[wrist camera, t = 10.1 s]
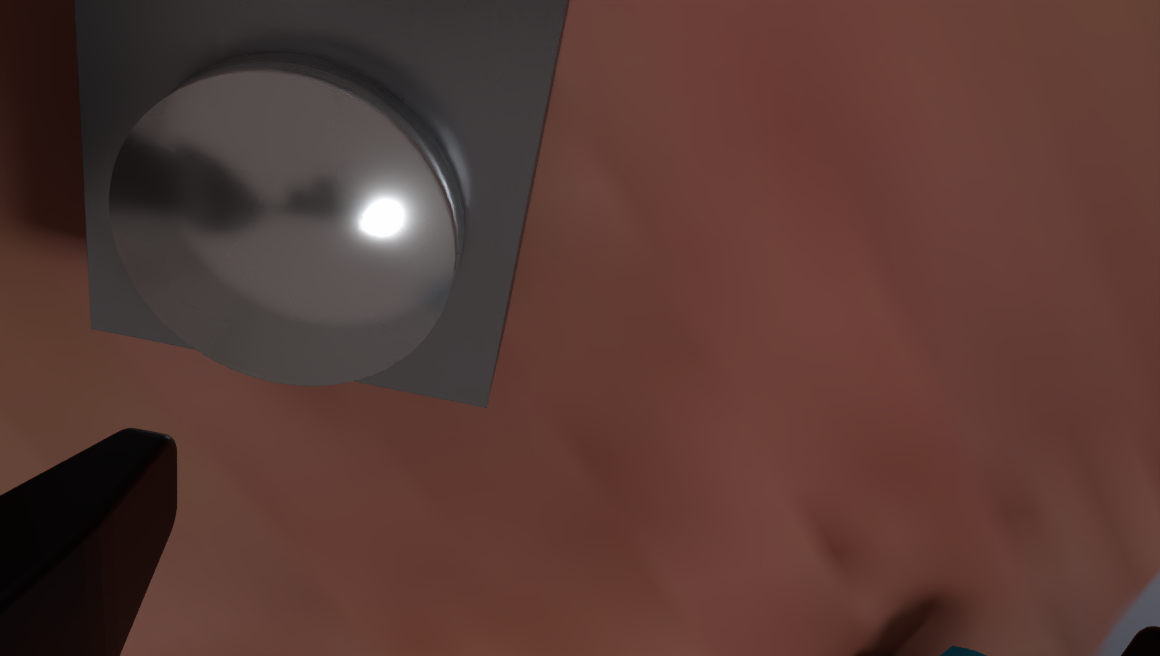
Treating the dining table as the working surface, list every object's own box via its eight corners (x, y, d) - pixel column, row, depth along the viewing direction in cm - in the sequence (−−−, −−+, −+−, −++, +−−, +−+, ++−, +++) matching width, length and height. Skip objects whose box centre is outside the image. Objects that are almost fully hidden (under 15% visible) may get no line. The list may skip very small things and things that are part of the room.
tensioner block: (152, 259, 23) (62, 361, 19) (142, -531, 16) (-6, -599, 12) (503, 331, 24) (478, 444, 20) (649, -405, 16) (650, -435, 13)
